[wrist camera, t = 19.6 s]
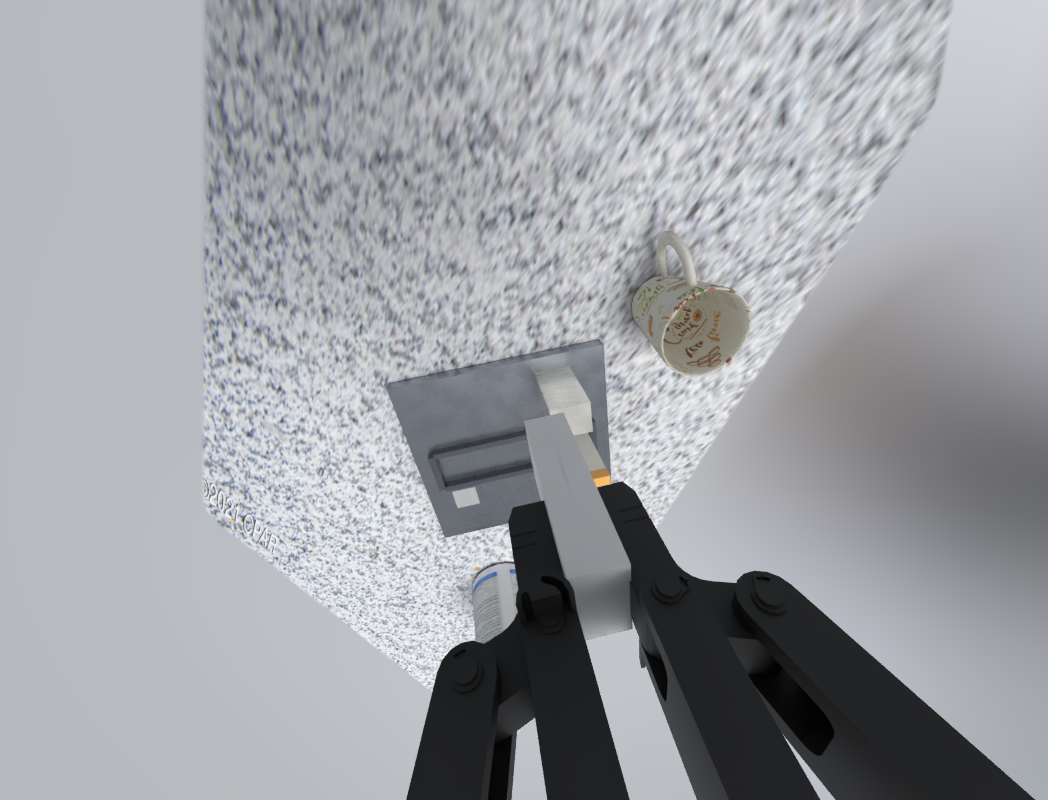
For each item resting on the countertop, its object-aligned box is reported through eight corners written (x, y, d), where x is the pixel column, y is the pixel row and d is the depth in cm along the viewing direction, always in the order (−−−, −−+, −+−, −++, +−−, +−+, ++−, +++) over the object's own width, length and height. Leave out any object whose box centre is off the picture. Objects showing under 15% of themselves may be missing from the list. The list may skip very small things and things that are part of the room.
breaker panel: (445, 529, 56) (443, 590, 48) (389, 383, 43) (373, 432, 35) (608, 491, 57) (633, 545, 49) (599, 339, 45) (630, 377, 36)
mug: (630, 349, 46) (670, 390, 37) (602, 243, 39) (643, 263, 31) (697, 321, 45) (754, 355, 37) (681, 208, 39) (745, 219, 30)
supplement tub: (477, 602, 66) (481, 705, 53) (468, 566, 61) (471, 670, 48) (534, 592, 66) (552, 690, 54) (530, 555, 61) (548, 654, 49)
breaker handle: (555, 455, 50) (574, 508, 42) (552, 433, 48) (571, 484, 40) (587, 448, 50) (611, 500, 42) (585, 425, 48) (610, 475, 40)
